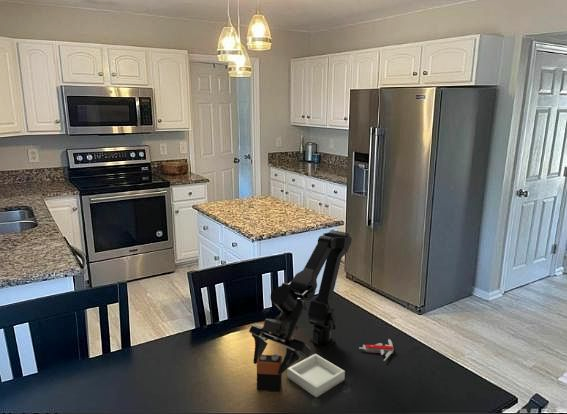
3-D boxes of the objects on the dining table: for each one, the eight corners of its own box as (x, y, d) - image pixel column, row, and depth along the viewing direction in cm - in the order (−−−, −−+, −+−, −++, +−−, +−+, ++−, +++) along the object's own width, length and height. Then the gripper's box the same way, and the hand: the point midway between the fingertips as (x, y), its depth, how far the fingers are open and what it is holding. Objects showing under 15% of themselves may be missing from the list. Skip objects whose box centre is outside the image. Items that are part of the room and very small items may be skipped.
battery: (280, 392, 117) (280, 361, 115) (256, 391, 117) (256, 359, 115) (281, 383, 121) (282, 352, 119) (258, 381, 122) (258, 351, 120)
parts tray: (315, 362, 132) (315, 353, 131) (344, 379, 123) (344, 370, 122) (287, 377, 124) (287, 368, 123) (316, 397, 115) (316, 387, 115)
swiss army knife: (360, 362, 132) (360, 357, 132) (357, 339, 146) (357, 334, 145) (396, 365, 131) (397, 359, 131) (390, 341, 145) (391, 336, 144)
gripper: (252, 298, 123) (227, 348, 116) (306, 316, 112) (282, 372, 106) (268, 313, 131) (246, 360, 124) (319, 331, 120) (298, 384, 114)
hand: (266, 369), depth 117 cm, fingers open, 8 cm apart
